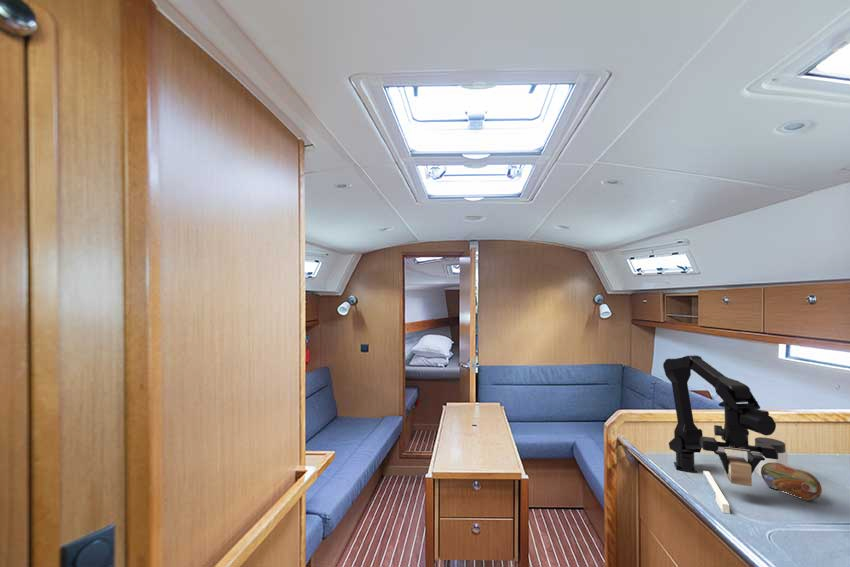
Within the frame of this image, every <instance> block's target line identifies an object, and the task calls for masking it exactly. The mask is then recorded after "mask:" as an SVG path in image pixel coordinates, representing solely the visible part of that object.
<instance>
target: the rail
mask: <svg viewBox="0 0 850 567" xmlns="http://www.w3.org/2000/svg"><path fill="white" fill-rule="evenodd" d="M702 474H703V475H702V476H703V477H702V478H703V480H704V482H705V484H706V485H707V487H708V489H709V491H710V492H711V495H712V496H713V498H714V499H715V501H716V503H717V505H718V506H719V508H720V510H721V512H722V513H723V514H730V512H731V511H730V504H729V501H728V500H727V498H726V497H725V496H724V494H723V493H722V491H721V489H720V488H719V486H718V484H717V482H716V481H715V479H714V478H713V476H712V474H711V473H710V471H707V470H703V471H702Z"/></svg>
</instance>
